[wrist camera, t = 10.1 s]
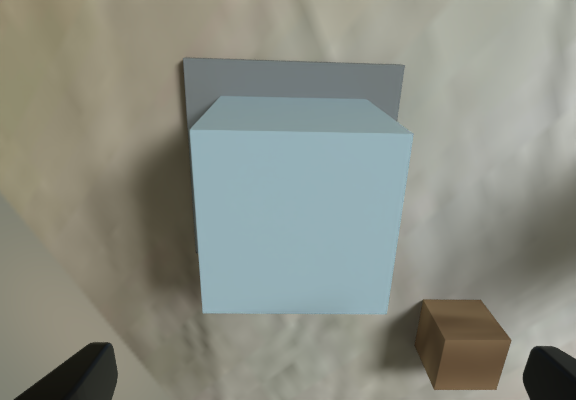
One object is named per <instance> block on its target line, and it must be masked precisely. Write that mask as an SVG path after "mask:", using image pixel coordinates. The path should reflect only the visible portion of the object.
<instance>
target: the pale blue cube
mask: <svg viewBox="0 0 576 400" xmlns="http://www.w3.org/2000/svg"><path fill="white" fill-rule="evenodd" d="M412 141H413V133H412V132H410V131H409V130H408V129H406V128H405V127H404V126H402V125H401V124H400V123H398V122H397V121H395V120H394V119H393V118H391V117H390V116H389V115H387V114H386V113H385V112H383V111H382V110H381V109H379V108H378V107H377V106H375V105H374V104H372V103H371V102H370V101H368V100H367V99H338V98H292V97H246V96H220V97H219V98H218V99H217V101H216V102H215V103H214V104H213V105H212V106H211V107H210V108H209V109H208V110H207V111H206V112H205V114H204V115H203V116H202V117H201V118H200V119H199V120H198V121H197V122H196V123H195V124H194V125H193V126H192V128H191V129H190V142H191V156H192V170H193V184H194V198H195V211H196V225H197V239H198V253H199V267H200V281H201V295H202V309H203V313H246V314H387V309H388V302H389V296H390V289H391V282H392V275H393V269H394V262H395V255H396V249H397V242H398V235H399V228H400V222H401V215H402V208H403V202H404V195H405V188H406V181H407V175H408V168H409V161H410V154H411V148H412Z"/></svg>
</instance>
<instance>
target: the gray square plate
mask: <svg viewBox="0 0 576 400" xmlns="http://www.w3.org/2000/svg"><path fill="white" fill-rule="evenodd" d="M183 64H184V79H185V94H186V110H187V125H188V140H189V155H190V170H191V186H192V201H193V216H194V231H195V246H196V253H198V239H197V225H196V211H195V198H194V184H193V170H192V156H191V142H190V129H191V128H192V126H193V125H194V124H195V123H196V122H197V121H198V120H199V119H200V118H201V117H202V116H203V115H204V114H205V112H206V111H207V110H208V109H209V108H210V107H211V106H212V105H213V104H214V103H215V102H216V101H217V99H218V98H219V97H220V96H246V97H292V98H338V99H367V100H368V101H370V102H371V103H372V104H374V105H375V106H377V107H378V108H379V109H381V110H382V111H383V112H385V113H386V114H387V115H389V116H390V117H391V118H393V119H394V120H395V121H397V118H398V110H399V103H400V96H401V89H402V82H403V74H404V67H405V65H396V64H365V63H335V62H305V61H274V60H244V59H213V58H183Z"/></svg>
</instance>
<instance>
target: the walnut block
mask: <svg viewBox="0 0 576 400" xmlns="http://www.w3.org/2000/svg"><path fill="white" fill-rule="evenodd" d="M510 343H511V339H510V338H509V336H508V335H507V334H506V332H505V331H504V330H503V328H502V327H501V326H500V325H499V323H498V322H497V321H496V319H495V318H494V317H493V315H492V314H491V313H490V311H489V310H488V309H487V308H486V306H485V305H484V304H483V302H482V301H481V300H425V299H423V303H422V308H421V314H420V319H419V324H418V329H417V335H416V340H415V347H416V350H417V352H418V354H419V356H420V359H421V361H422V363H423V366H424V368H425V370H426V372H427V375H428V377H429V379H430V381H431V384H432V386H433V388H434V390H496V389H497V386H498V382H499V379H500V376H501V373H502V369H503V366H504V363H505V360H506V356H507V353H508V350H509V347H510Z"/></svg>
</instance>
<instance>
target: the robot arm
mask: <svg viewBox="0 0 576 400" xmlns="http://www.w3.org/2000/svg"><path fill="white" fill-rule="evenodd" d="M117 377H118V372H117V366H116V360H115V355H114V349H113V346H112V344H111V343H108V342H93V343H90V344H88V345H86V346H85V347H84V348H83V349H81V350H80V351H79V352H77V353H76V354H74V355H73V356H72V357H70V358H69V359H68V360H66V361H65V362H64V363H62V364H61V365H59V366H58V367H57V368H56V369H54V370H53V371H52V372H50V373H49V374H47V375H46V376H45V377H43V378H42V379H41V380H39V381H38V382H37V383H35V384H34V385H33V386H31V387H30V388H29V389H27V390H26V391H24V392H23V393H22V394H20V395H19V396H18V397H16V398H15V399H14V400H112V396H113V393H114V390H115V387H116V383H117ZM523 383H524V386H525V389H526V391H527V394H528V396H529V398H530V400H576V359H575V358H573V357H572V356H570V355H568V354H566V353H565V352H563V351H561V350H560V349H558V348H556V347H553V346H536V347H534V348H533V349H532V350H531V352H530V355H529V358H528V361H527V363H526V366H525V369H524V372H523Z"/></svg>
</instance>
